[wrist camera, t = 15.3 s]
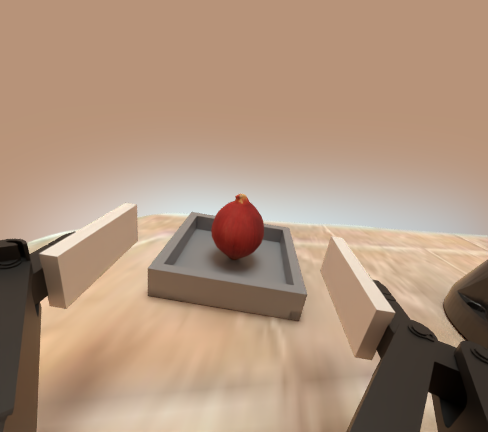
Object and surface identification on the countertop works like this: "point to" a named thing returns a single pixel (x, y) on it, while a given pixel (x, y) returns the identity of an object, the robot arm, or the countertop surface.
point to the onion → (238, 228)
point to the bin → (229, 272)
